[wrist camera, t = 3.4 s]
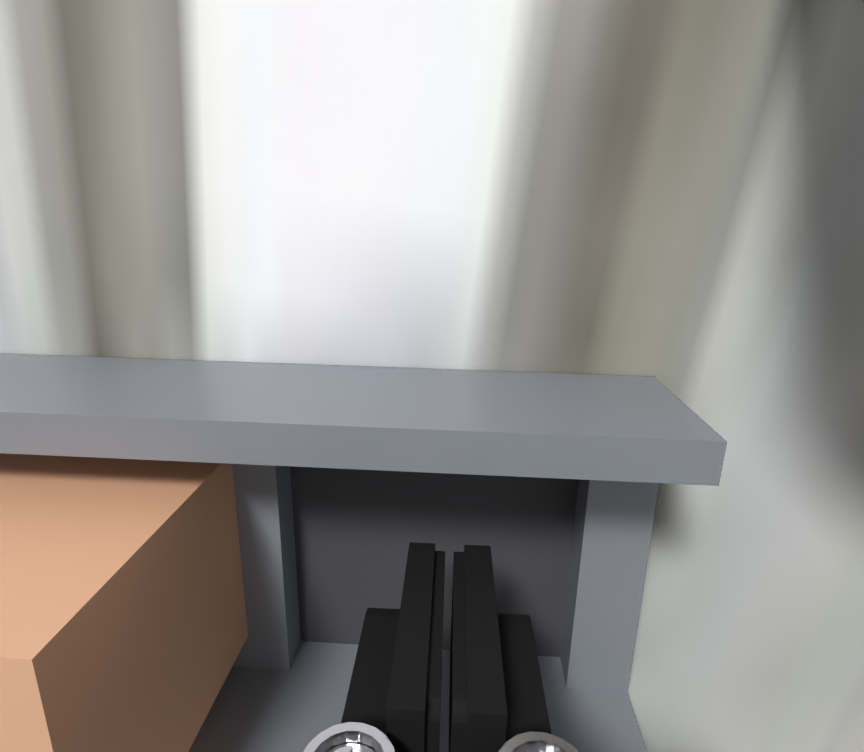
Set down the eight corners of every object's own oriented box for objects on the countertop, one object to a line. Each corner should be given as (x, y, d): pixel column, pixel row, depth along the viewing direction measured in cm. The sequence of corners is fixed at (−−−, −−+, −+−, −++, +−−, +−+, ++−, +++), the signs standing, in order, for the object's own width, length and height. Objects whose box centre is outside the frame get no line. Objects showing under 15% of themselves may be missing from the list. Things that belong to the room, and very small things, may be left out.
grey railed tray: (654, 376, 13) (727, 441, 9) (611, 679, 15) (655, 822, 12) (-172, 347, 14) (-395, 395, 10) (-85, 634, 16) (-239, 752, 13)
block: (230, 453, 13) (31, 659, 7) (248, 635, 14) (95, 933, 8) (18, 443, 13) (-346, 634, 7) (56, 623, 14) (-220, 903, 9)
